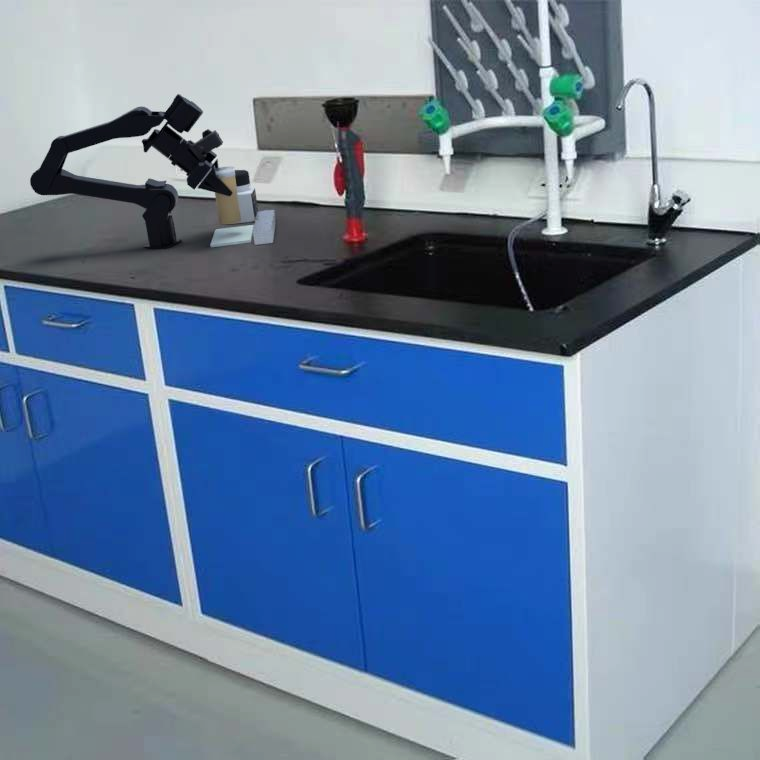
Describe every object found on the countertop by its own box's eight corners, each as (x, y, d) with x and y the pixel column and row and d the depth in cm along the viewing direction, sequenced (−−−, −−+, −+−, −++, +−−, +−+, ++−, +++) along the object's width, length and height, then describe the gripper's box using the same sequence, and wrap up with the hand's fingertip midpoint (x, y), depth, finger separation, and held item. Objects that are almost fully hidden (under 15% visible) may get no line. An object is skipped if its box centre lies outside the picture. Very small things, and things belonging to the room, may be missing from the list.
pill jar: (234, 224, 284) (226, 171, 280) (214, 224, 287) (206, 171, 283) (245, 218, 289) (238, 166, 285) (226, 218, 291) (218, 166, 287)
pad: (210, 247, 281) (210, 244, 281) (216, 231, 296) (215, 229, 296) (250, 242, 281) (250, 239, 281) (254, 227, 296) (253, 224, 296)
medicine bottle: (255, 221, 302) (248, 172, 298) (226, 224, 303) (218, 175, 299) (259, 215, 309) (252, 166, 305) (230, 218, 309) (222, 169, 306)
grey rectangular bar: (272, 242, 279) (271, 229, 278) (254, 245, 278) (252, 231, 277) (276, 219, 302) (274, 207, 301) (259, 221, 302) (257, 209, 301)
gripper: (193, 125, 271) (252, 171, 275) (201, 114, 289) (255, 157, 292) (163, 166, 274) (221, 211, 277) (172, 153, 291) (226, 195, 295)
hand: (232, 192), depth 285 cm, fingers closed on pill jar, 5 cm apart
